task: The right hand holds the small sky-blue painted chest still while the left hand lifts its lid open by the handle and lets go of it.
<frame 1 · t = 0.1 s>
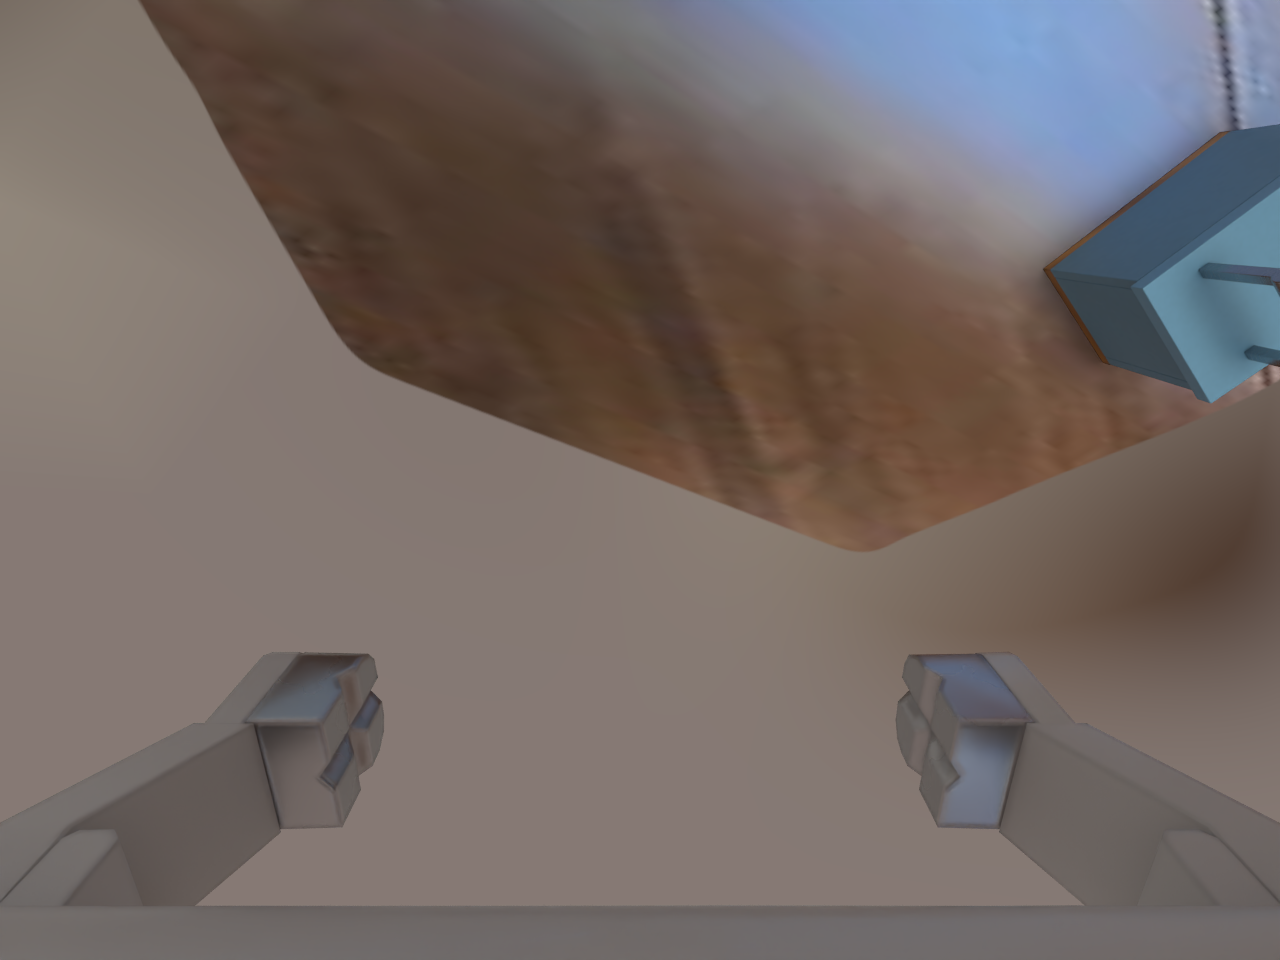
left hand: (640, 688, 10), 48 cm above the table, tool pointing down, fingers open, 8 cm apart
chest: (1158, 254, 54), on the table
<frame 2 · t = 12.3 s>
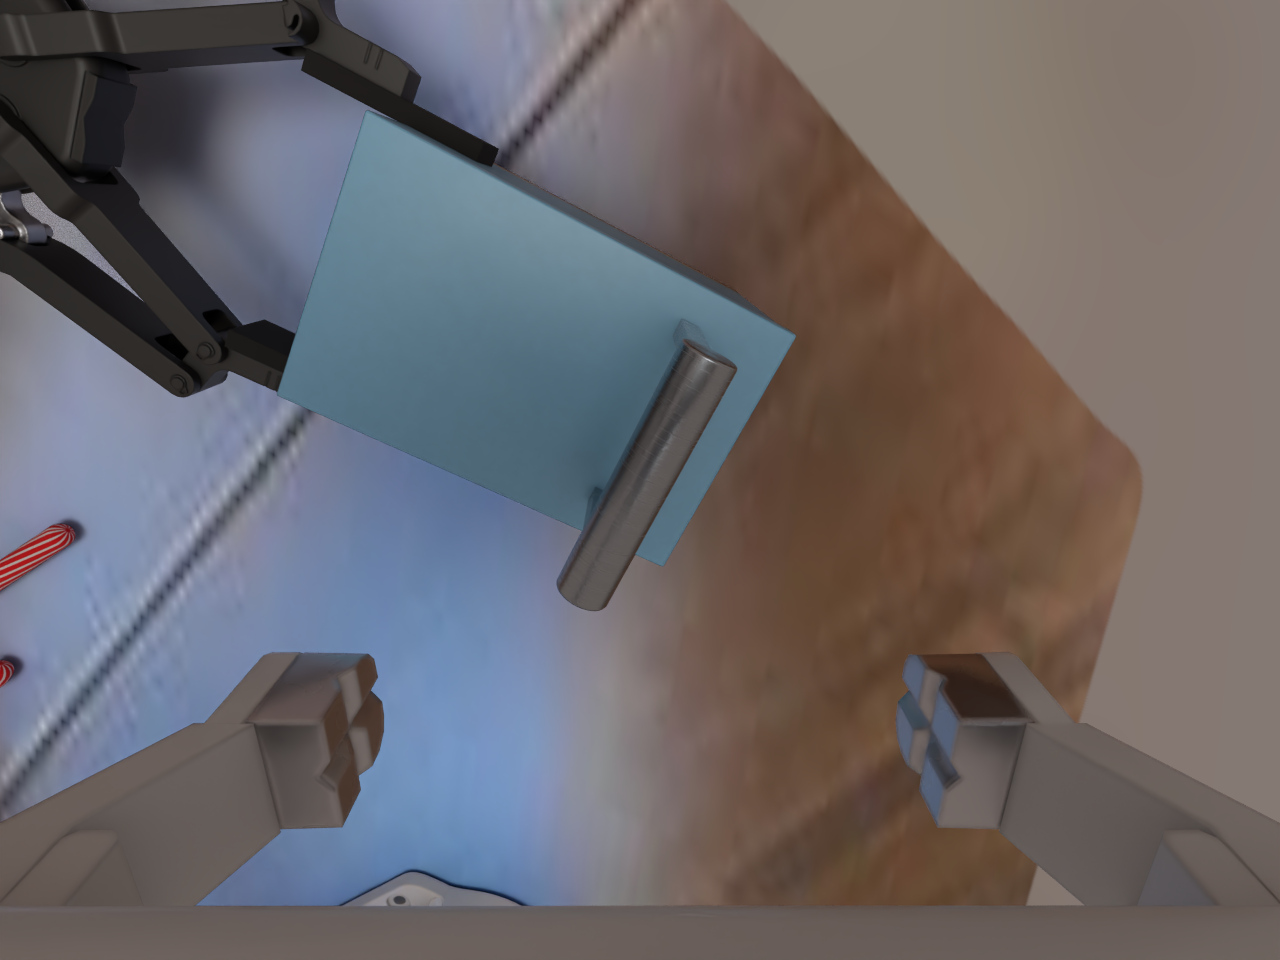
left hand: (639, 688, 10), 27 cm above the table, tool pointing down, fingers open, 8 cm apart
right hand: (438, 285, 27), fingers closed on chest, 10 cm apart
lid: (518, 385, 21), point 15 cm above the table, hinge at 0.0°
candy cane: (12, 601, 41), on the table
chest: (562, 314, 35), on the table, touching right hand
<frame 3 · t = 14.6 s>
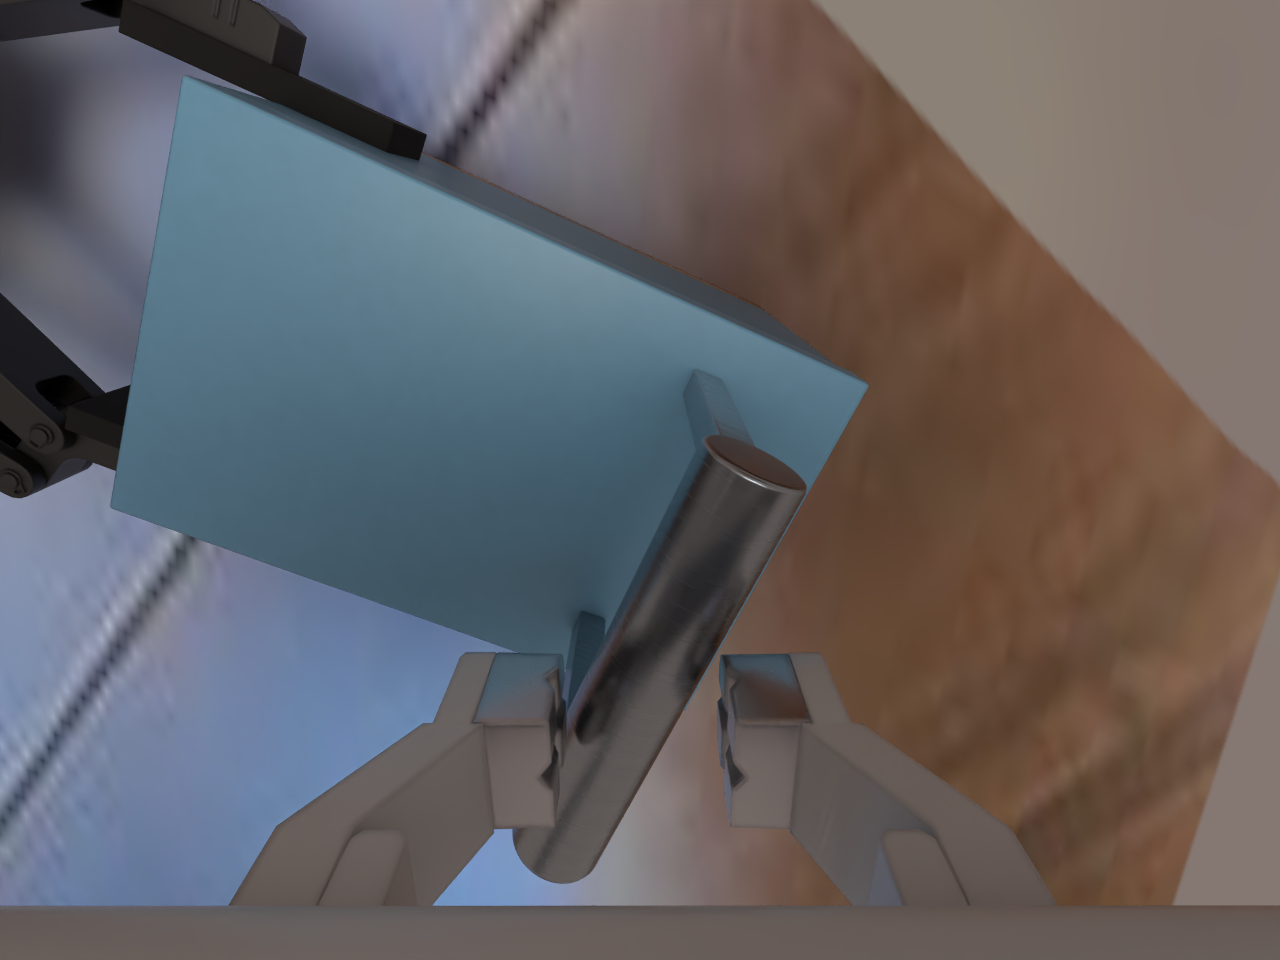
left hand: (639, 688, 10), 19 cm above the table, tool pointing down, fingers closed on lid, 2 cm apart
lid: (444, 496, 13), point 15 cm above the table, hinge at -0.1°, touching left hand
chest: (538, 348, 27), on the table, touching right hand
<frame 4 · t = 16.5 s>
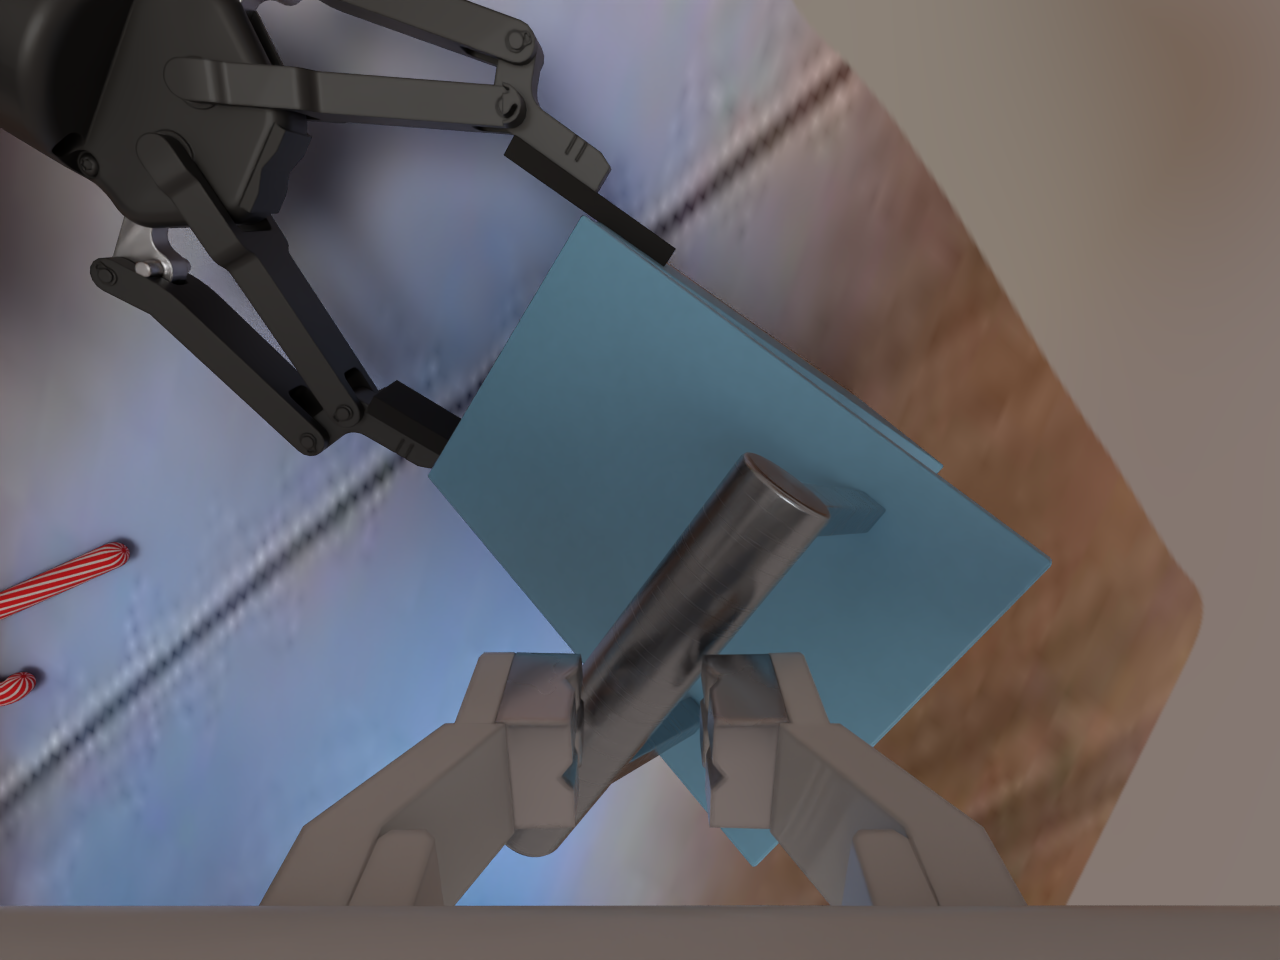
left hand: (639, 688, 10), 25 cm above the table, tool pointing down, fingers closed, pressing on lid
right hand: (591, 374, 27), fingers closed on chest, 10 cm apart
lid: (598, 507, 16), point 19 cm above the table, hinge at 39.1°, touching left hand
candy cane: (46, 612, 39), on the table
chest: (677, 394, 34), on the table, touching right hand
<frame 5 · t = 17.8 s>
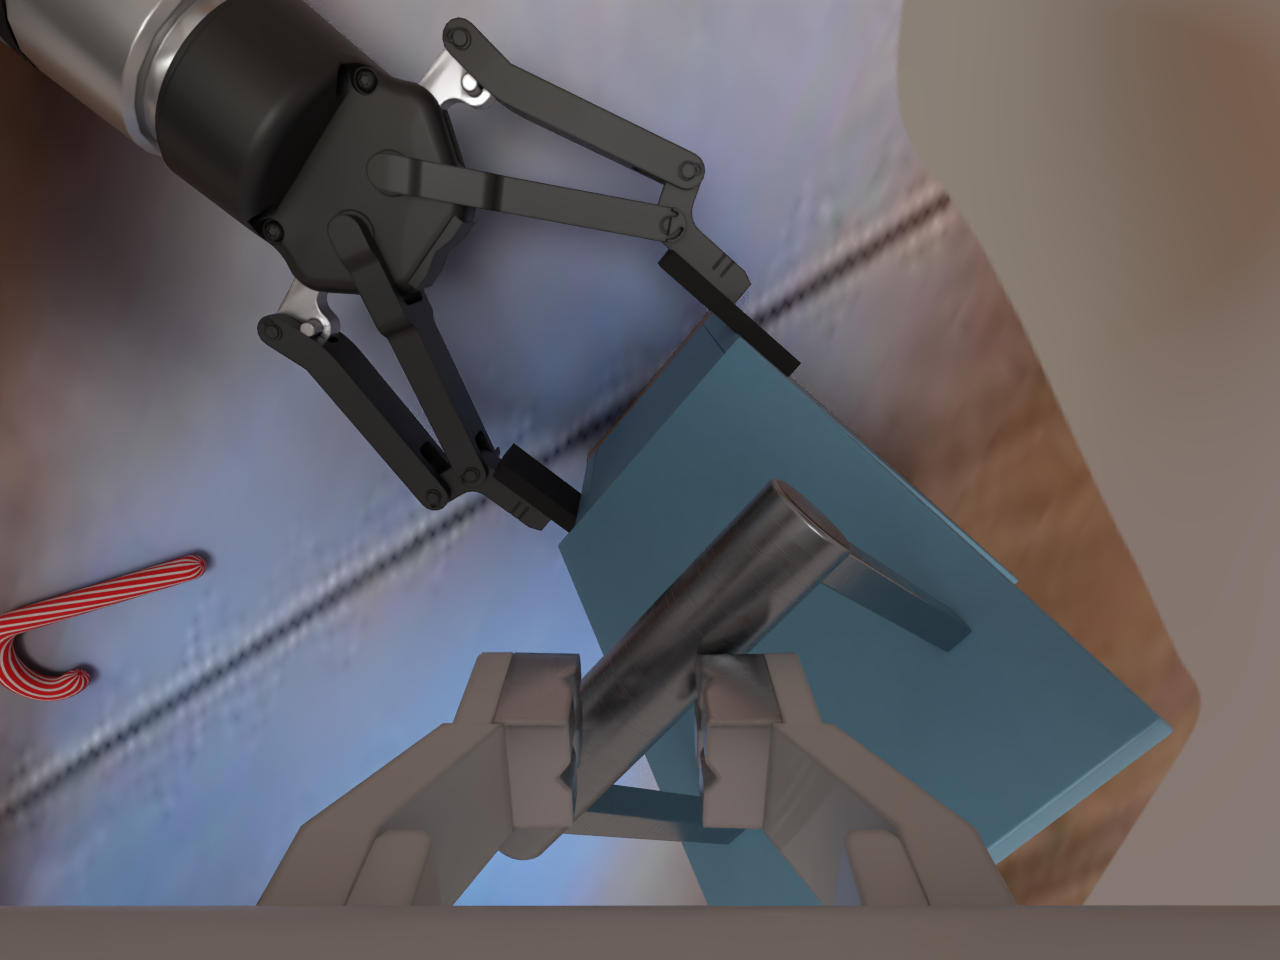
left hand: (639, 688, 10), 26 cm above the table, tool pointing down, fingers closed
right hand: (700, 459, 29), fingers closed on chest, 10 cm apart
lid: (676, 568, 17), point 20 cm above the table, hinge at 63.1°, touching left hand
candy cane: (111, 614, 40), on the table
chest: (752, 470, 37), on the table, touching right hand
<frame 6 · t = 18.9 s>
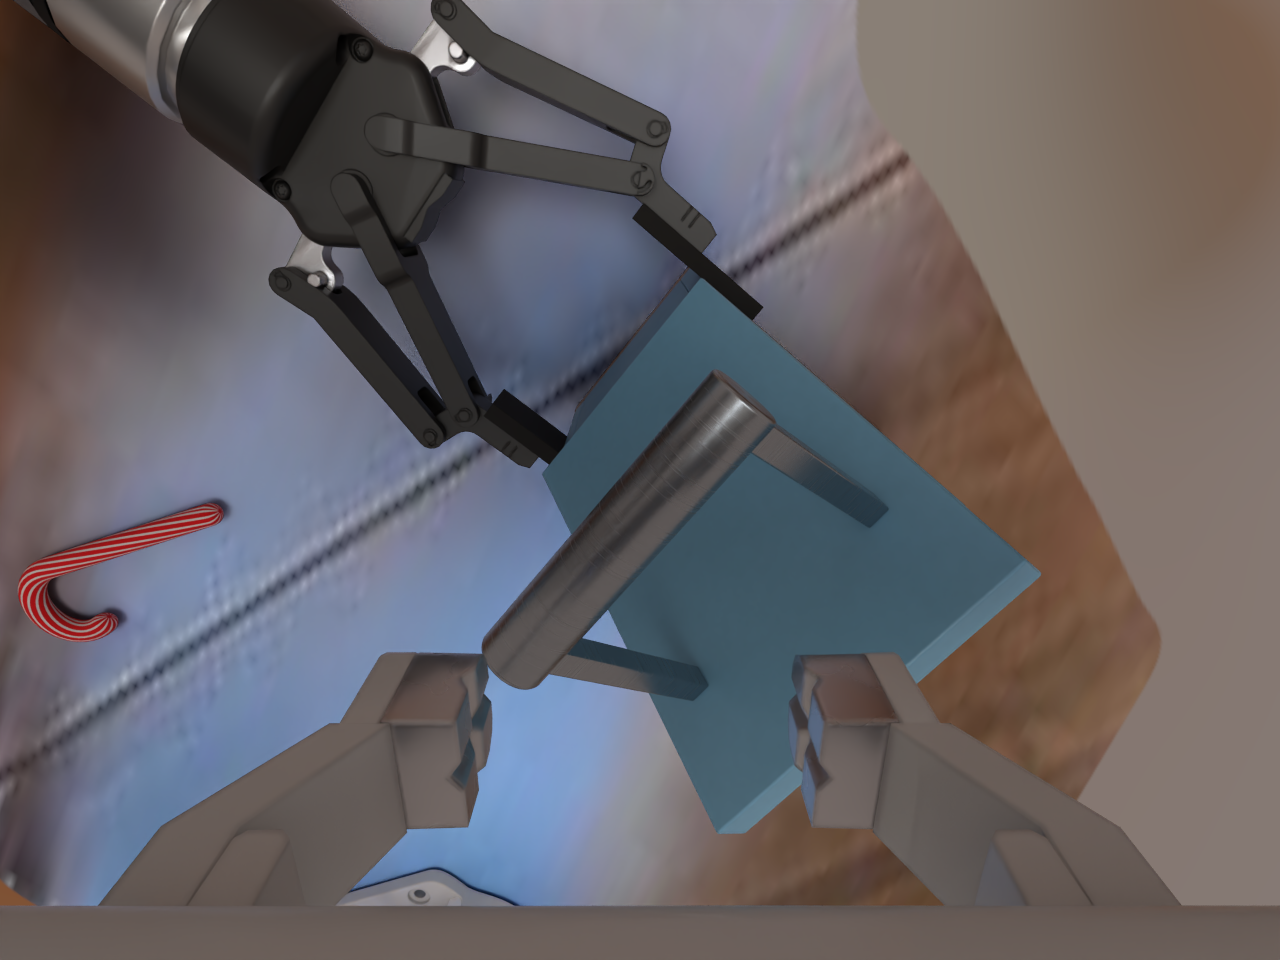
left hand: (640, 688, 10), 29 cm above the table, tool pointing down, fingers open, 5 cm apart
right hand: (675, 401, 32), fingers closed on chest, 10 cm apart
lid: (645, 472, 19), point 20 cm above the table, hinge at 60.1°
candy cane: (136, 560, 43), on the table
chest: (730, 420, 39), on the table, touching right hand
when the right hand's fingers open (7 cm above the table, at t = 21.8 s): chest stays where it is, on the table.
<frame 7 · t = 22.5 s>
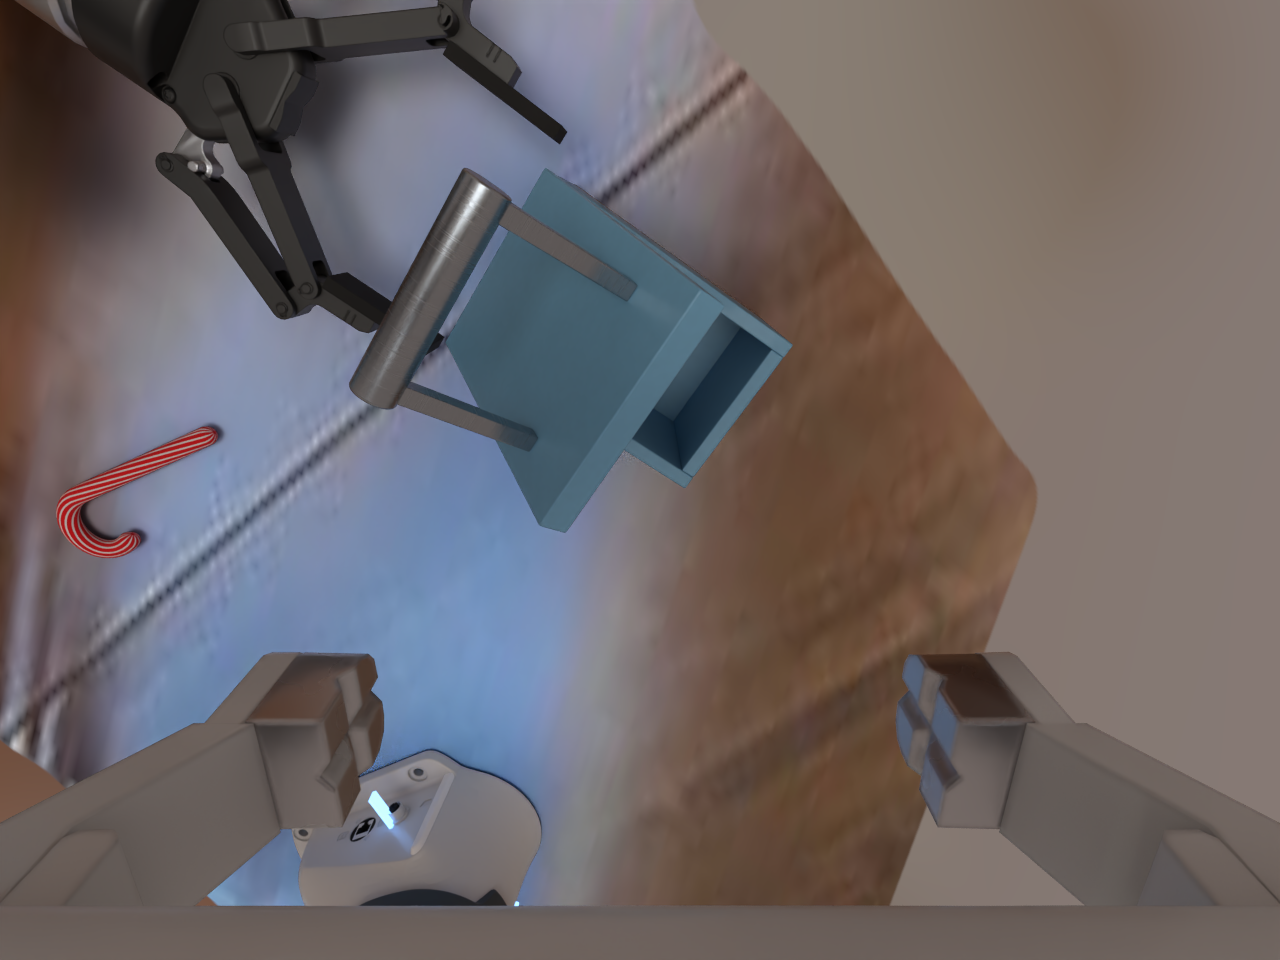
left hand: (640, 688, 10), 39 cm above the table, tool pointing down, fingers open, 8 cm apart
right hand: (495, 246, 38), fingers open, 13 cm apart
lid: (482, 291, 26), point 20 cm above the table, hinge at 59.5°
candy cane: (151, 484, 51), on the table
chest: (628, 317, 46), on the table
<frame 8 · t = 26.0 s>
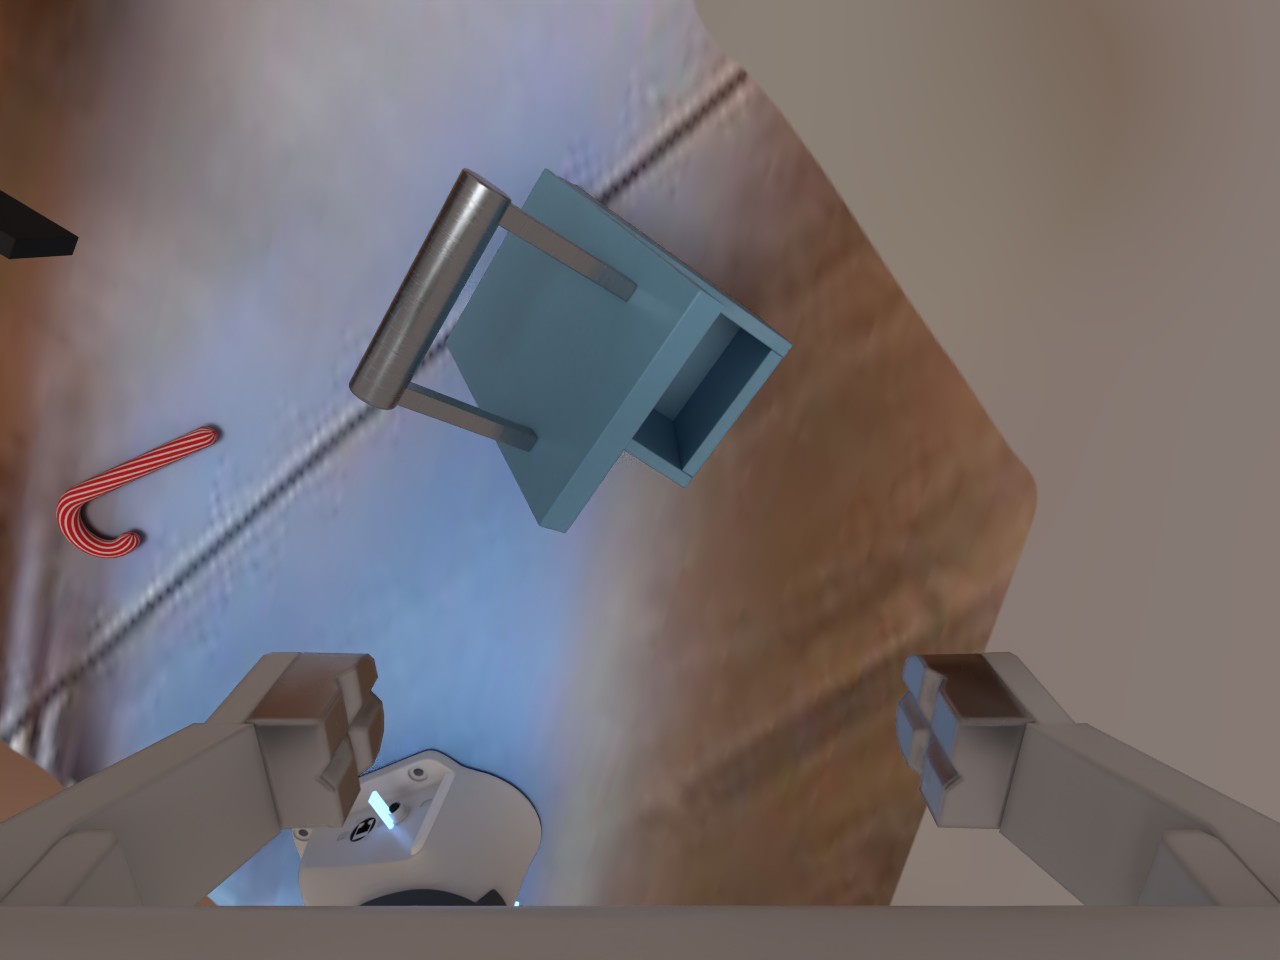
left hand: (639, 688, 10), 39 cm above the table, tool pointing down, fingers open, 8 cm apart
lid: (482, 291, 26), point 20 cm above the table, hinge at 59.5°
candy cane: (151, 484, 51), on the table
chest: (628, 317, 46), on the table
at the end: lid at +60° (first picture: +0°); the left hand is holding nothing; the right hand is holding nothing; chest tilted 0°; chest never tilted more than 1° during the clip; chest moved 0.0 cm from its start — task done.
